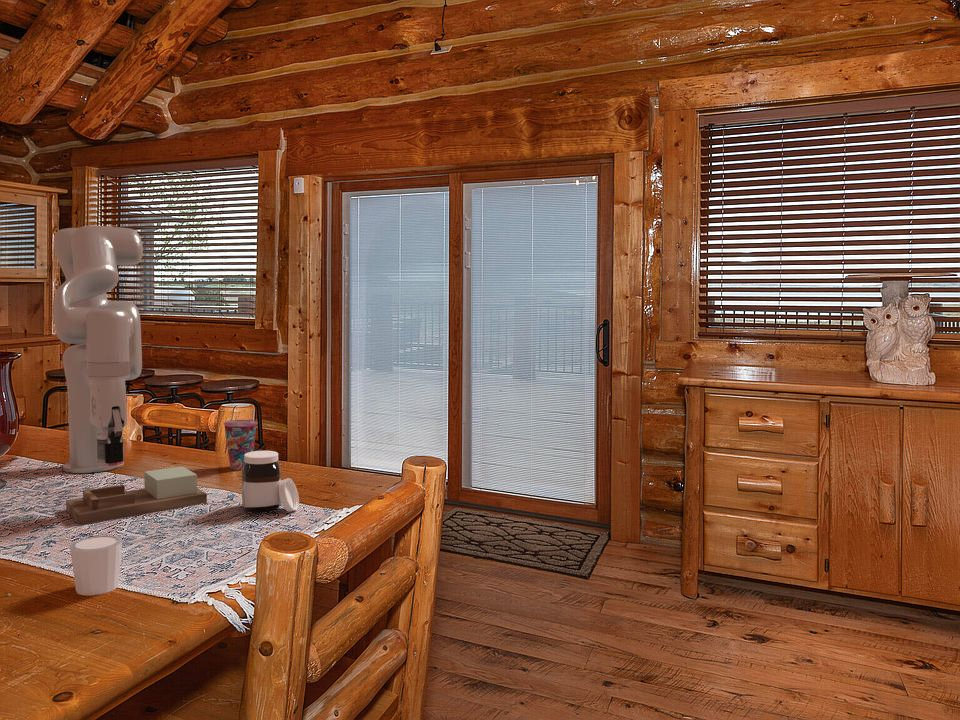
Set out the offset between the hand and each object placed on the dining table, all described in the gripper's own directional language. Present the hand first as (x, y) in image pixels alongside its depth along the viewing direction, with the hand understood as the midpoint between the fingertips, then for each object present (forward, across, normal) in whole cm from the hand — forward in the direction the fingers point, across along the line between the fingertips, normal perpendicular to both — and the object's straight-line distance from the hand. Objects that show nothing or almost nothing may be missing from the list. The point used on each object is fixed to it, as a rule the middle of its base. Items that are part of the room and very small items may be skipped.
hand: (110, 459), depth 137 cm
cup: (+11, -19, +35) cm, 41 cm away
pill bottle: (+2, 0, 0) cm, 2 cm away
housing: (+11, 0, +5) cm, 12 cm away
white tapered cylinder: (+11, +39, -11) cm, 42 cm away
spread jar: (+11, +18, +26) cm, 33 cm away
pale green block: (+9, 0, +12) cm, 14 cm away
